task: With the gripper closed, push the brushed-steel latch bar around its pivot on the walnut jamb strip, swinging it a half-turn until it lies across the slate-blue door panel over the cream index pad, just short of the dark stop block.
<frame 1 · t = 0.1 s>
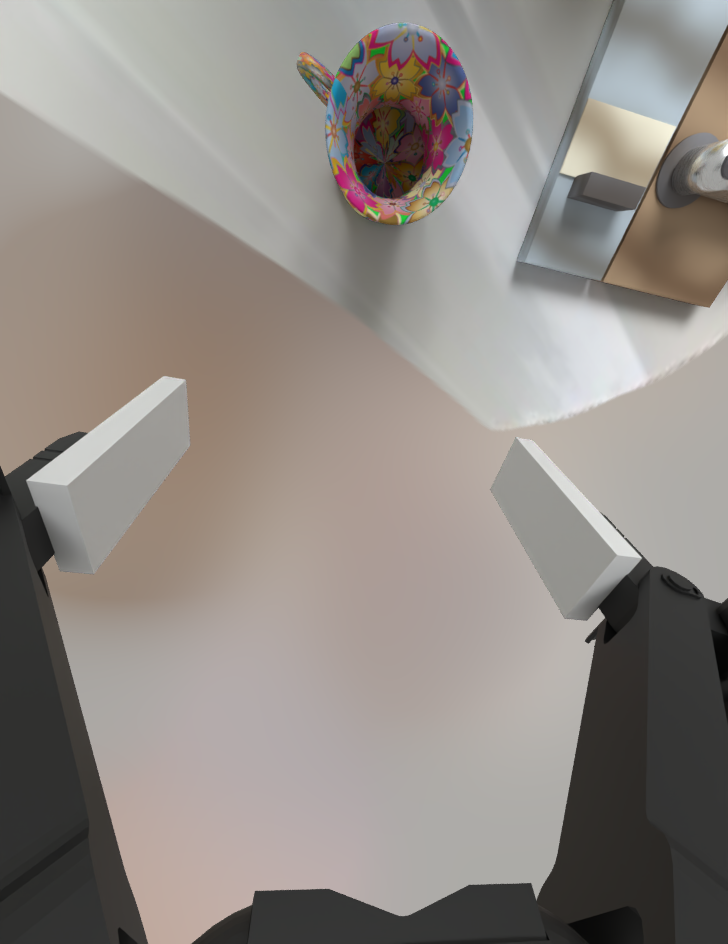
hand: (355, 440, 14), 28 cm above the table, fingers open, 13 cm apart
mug: (370, 153, 31), on the table
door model: (668, 175, 32), on the table
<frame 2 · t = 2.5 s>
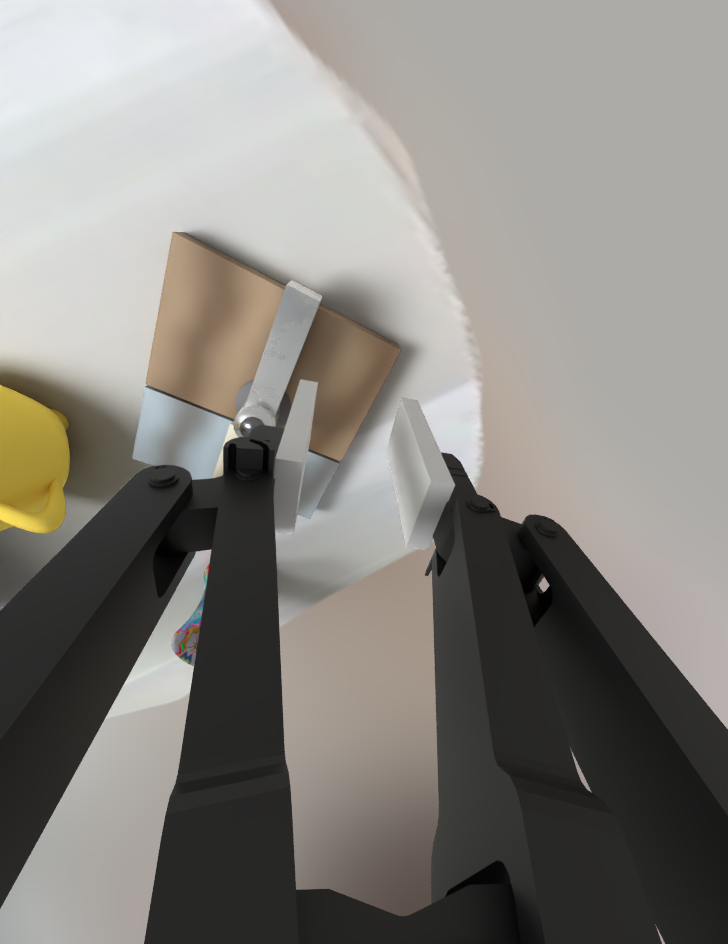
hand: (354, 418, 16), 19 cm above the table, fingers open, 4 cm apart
latch bar: (275, 370, 29), point 5 cm above the table, hinge at 0.0°
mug: (233, 577, 49), on the table
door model: (267, 397, 35), on the table
teapot: (9, 426, 35), on the table
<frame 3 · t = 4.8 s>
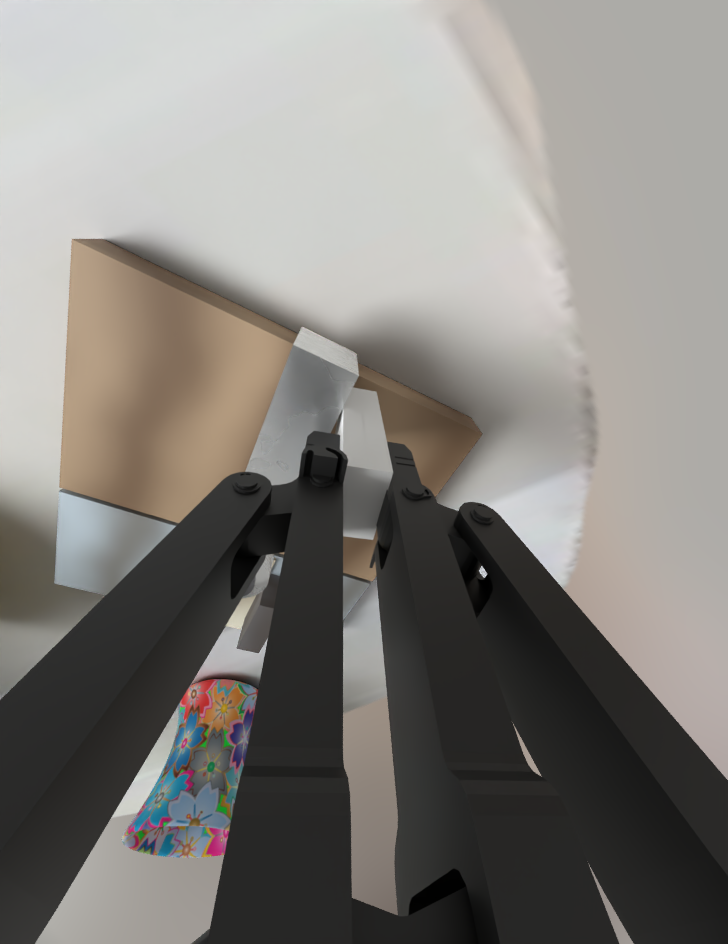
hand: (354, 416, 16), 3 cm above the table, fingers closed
latch bar: (272, 481, 16), point 5 cm above the table, hinge at 0.0°, touching gripper
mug: (219, 696, 37), on the table
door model: (261, 493, 22), on the table
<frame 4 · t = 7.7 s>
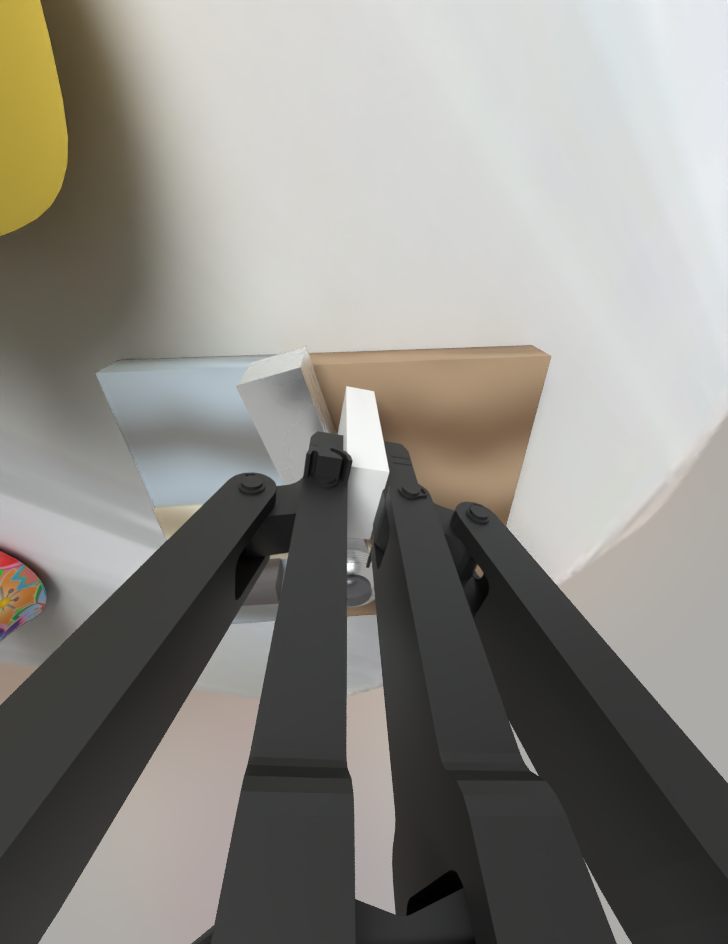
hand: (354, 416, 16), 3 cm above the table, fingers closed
latch bar: (323, 495, 17), point 5 cm above the table, hinge at 103.7°, touching gripper
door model: (348, 505, 24), on the table
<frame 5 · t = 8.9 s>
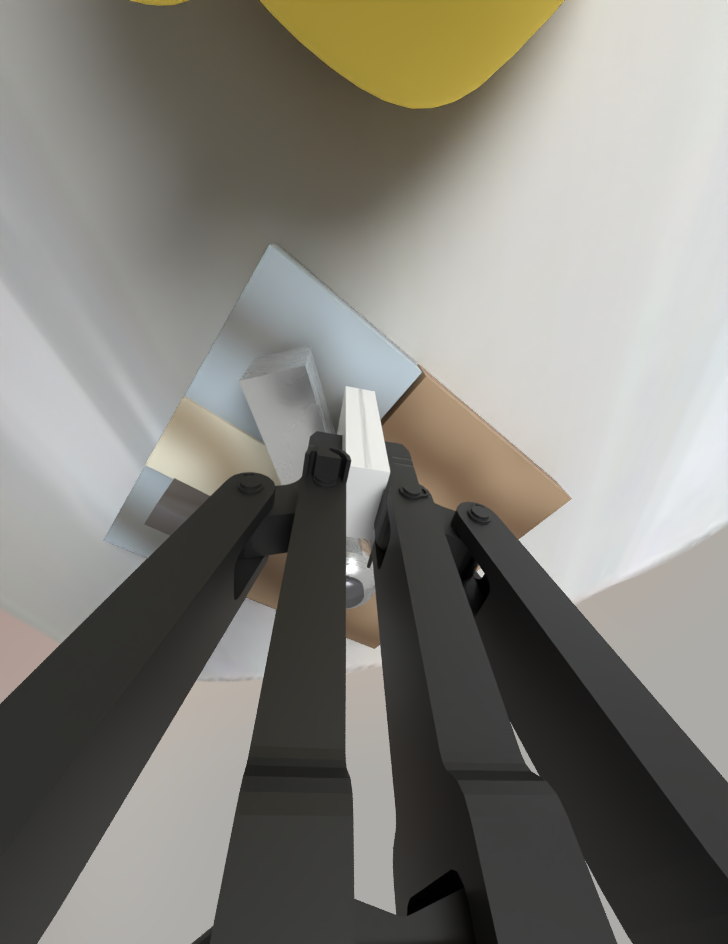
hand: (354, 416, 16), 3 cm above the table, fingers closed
latch bar: (320, 495, 17), point 5 cm above the table, hinge at 140.6°, touching gripper
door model: (342, 507, 24), on the table
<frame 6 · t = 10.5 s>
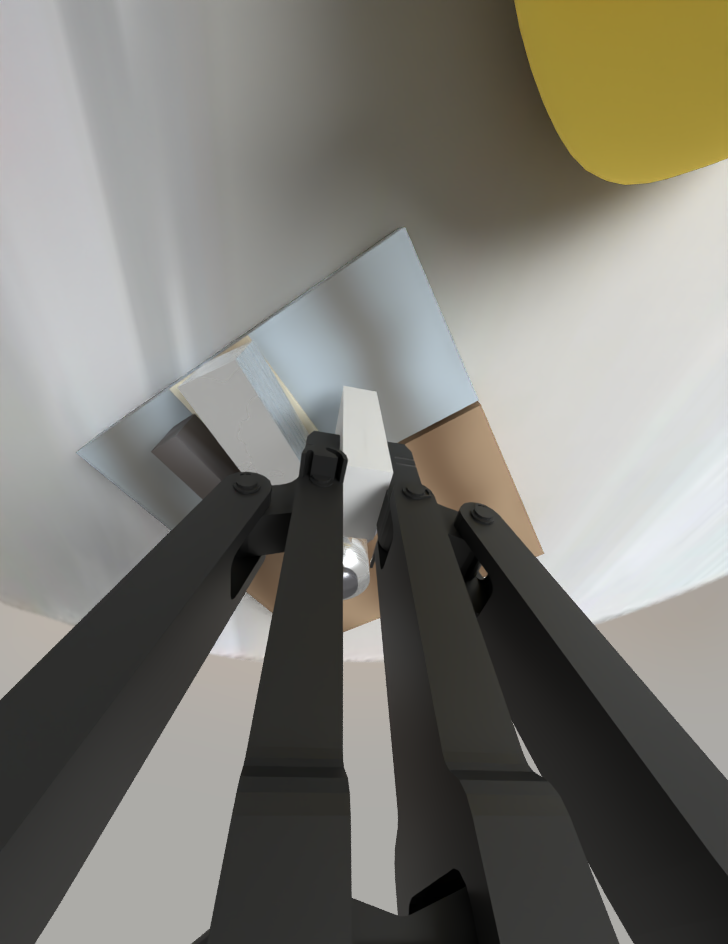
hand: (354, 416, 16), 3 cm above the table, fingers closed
latch bar: (295, 489, 17), point 5 cm above the table, hinge at 173.0°
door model: (339, 498, 23), on the table
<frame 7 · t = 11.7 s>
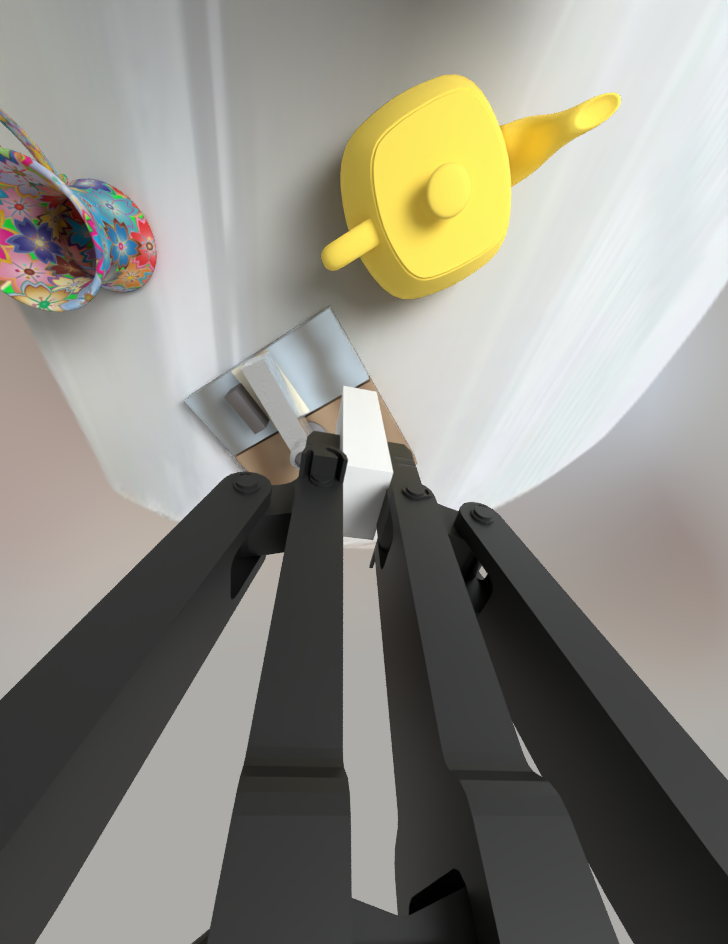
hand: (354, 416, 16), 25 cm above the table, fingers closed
latch bar: (285, 416, 38), point 5 cm above the table, hinge at 173.0°
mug: (105, 221, 32), on the table
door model: (309, 432, 45), on the table
teapot: (422, 203, 33), on the table
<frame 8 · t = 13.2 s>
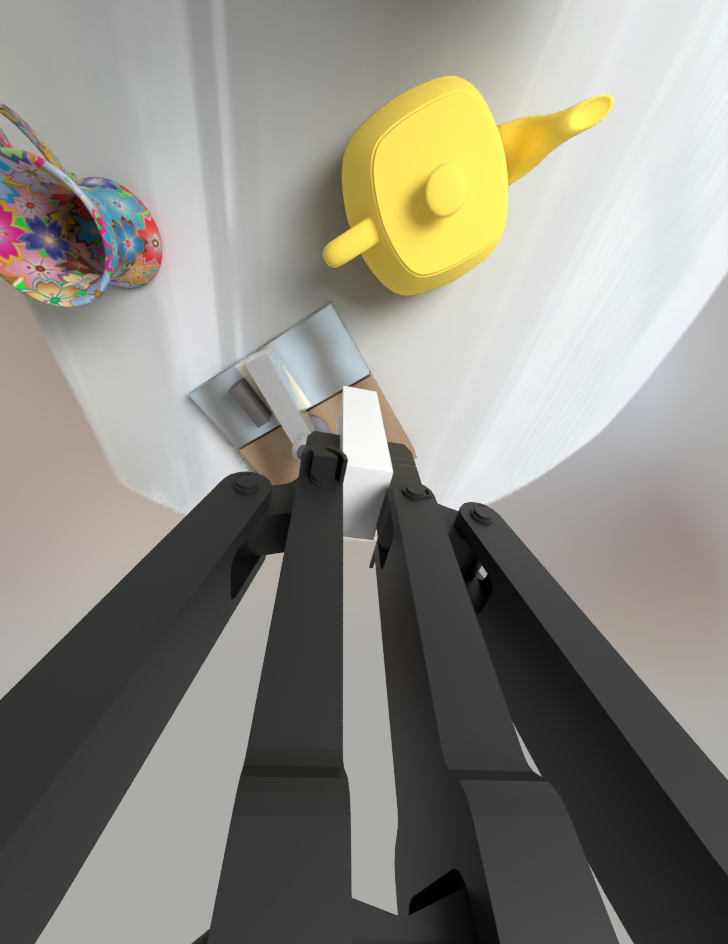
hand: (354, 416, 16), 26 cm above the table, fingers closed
latch bar: (287, 410, 39), point 5 cm above the table, hinge at 173.0°
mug: (111, 219, 33), on the table
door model: (310, 426, 45), on the table
teapot: (422, 201, 33), on the table
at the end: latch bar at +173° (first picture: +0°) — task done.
